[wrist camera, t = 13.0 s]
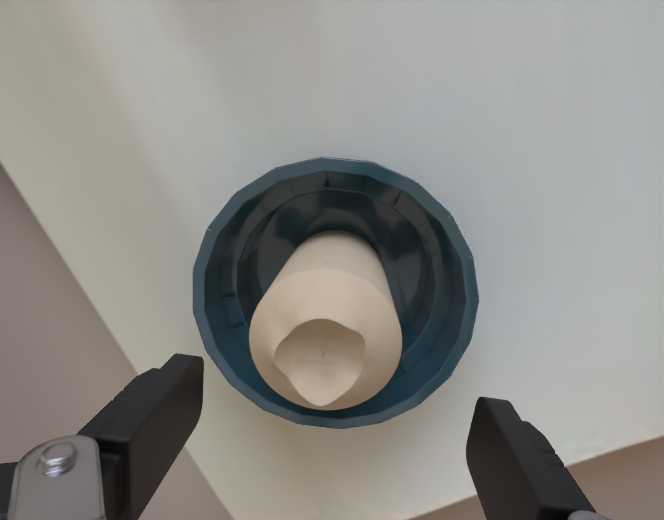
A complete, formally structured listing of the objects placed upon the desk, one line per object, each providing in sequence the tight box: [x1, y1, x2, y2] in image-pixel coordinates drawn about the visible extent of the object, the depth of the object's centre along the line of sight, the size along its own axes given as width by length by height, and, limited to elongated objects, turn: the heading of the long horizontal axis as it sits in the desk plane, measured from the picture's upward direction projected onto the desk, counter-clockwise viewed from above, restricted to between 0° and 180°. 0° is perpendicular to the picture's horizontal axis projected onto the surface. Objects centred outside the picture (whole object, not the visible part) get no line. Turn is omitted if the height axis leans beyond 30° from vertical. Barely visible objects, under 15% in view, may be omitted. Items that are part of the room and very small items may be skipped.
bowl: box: [193, 157, 479, 429], centre depth 20 cm, size 13×13×5 cm
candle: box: [249, 230, 402, 410], centre depth 17 cm, size 6×6×10 cm
